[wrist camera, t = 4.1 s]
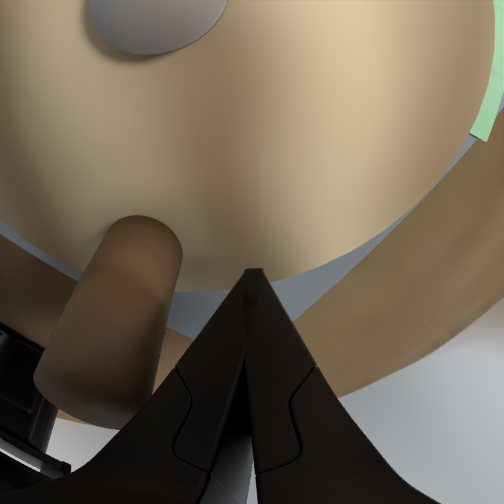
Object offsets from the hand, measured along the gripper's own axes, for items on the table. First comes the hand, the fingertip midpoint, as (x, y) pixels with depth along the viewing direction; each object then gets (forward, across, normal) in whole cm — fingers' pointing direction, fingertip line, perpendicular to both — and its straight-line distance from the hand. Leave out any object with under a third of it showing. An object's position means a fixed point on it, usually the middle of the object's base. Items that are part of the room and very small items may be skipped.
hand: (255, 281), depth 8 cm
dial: (+3, 0, -7) cm, 8 cm away
